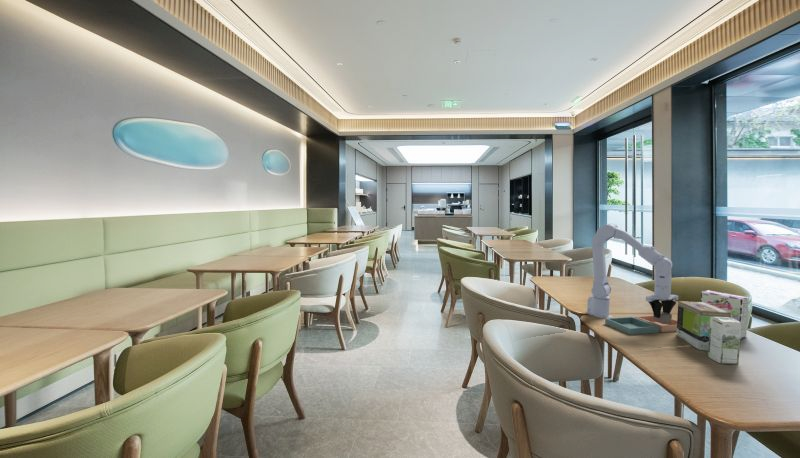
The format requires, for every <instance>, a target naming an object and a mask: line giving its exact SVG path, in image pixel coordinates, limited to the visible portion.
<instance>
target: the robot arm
mask: <svg viewBox="0 0 800 458" xmlns="http://www.w3.org/2000/svg"><path fill="white" fill-rule="evenodd" d="M610 239H615V240H621V241H624V242H625V243H626V244H628V245H629V246H630V247H632V248H633V249H635V250H636V251H637V252H638V256H640V257H641V258H642V259H643V260H644V261H646V262H648V264H650V265H652V266H653V268H654V270H655V275H654V287H653V290H654V291H653V292H654V293H653V294H651V295H646V296H645V301H646V302H648V304H649V305H650V307H651V309H652V313H654V317H657V318H660V314H661V311H663V312H666V313H669V314H671V312H672V310H673V309H674V307H675V306H676V304H677V301H679V295H677V294H672V268H673V261H672V260H671V259H670V258H669V257H665V256H666V255H665V254H661V253H660V252H658V251H657V250H656V248H655V246H653V245H652V246H650V245H648V244H647V245H644V244H643V243H641V242H640V241H639V240H637V239H636V238H635V237H634V236H632V235H631V234H630V233H628V232H627V231H626V230H624V229H623V228H621V227H619V226H618V225H617V224H614V223H607V224H603V225H602V226H600V227H599V228H597V230H596V232H595V234H594V235H593V237H592V239H591V249H592V262H593V265H592V266H593V275H594V278H593V281H592V288H591V295H590V296H588V298H587V304H586V305H587V306H586V308H587V311H585V314H587V315H591V316H593V317H596V318H598V319H600V318H603V319H604V318H614V315H611V314H610V307H611V306H610V303H611V301H610V300H611V299H610V297H611V296H609V294H610V293H611V291H612V287H611V285H610V283H609V279H608V277H607V268H606V257H605V256H606V255H605V253H606V252H605V244H606V243H607V242H609V240H610Z"/></svg>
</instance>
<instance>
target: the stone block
mask: <svg viewBox="0 0 800 458" xmlns="http://www.w3.org/2000/svg"><path fill="white" fill-rule="evenodd" d="M652 313H653V312H652ZM652 315H653V321H656V322H658V323H661V324H671V322H672V319H673V318H672V317H673V314H672V313H670V314H669V313H666V312H663V310H661V314H660V318H657V317H654V313H653V314H652Z"/></svg>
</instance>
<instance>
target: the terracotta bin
mask: <svg viewBox="0 0 800 458" xmlns="http://www.w3.org/2000/svg"><path fill="white" fill-rule="evenodd" d="M634 318H637V319H640V320H642V321H645V322H648V323H651V324H653V325H656V326H659V332H660V333H668V332H669V333H670V332H677V319H675V318H672V322H671V324H661V323H658V322H656V321H653V314H652V315H638V316H637V315H636V316H634Z"/></svg>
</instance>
